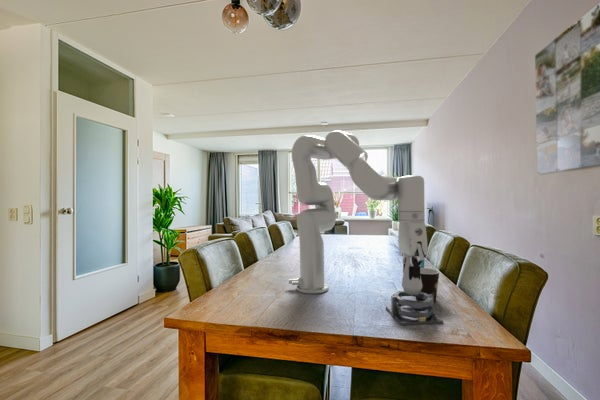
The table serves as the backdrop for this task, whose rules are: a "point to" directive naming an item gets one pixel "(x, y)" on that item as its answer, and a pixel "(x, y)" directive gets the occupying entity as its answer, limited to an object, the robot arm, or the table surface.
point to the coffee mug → (429, 282)
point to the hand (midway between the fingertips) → (411, 277)
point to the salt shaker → (410, 285)
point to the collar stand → (413, 309)
